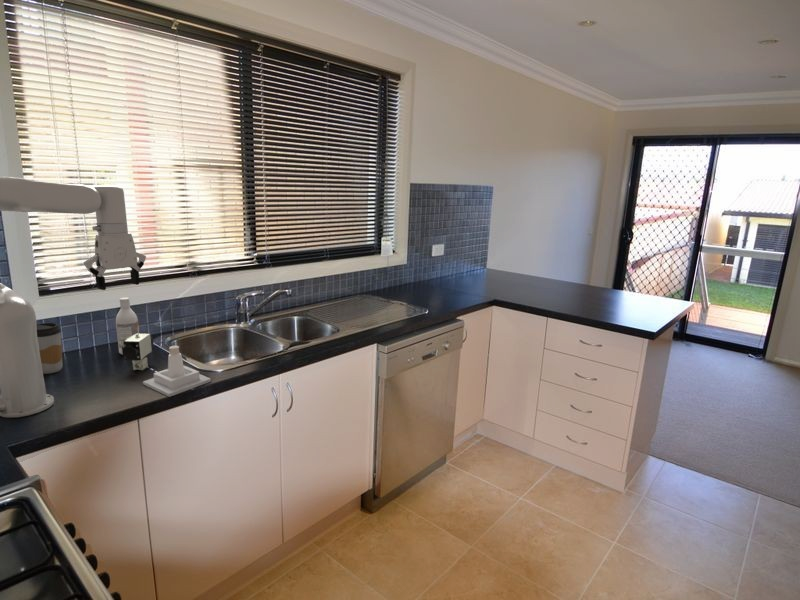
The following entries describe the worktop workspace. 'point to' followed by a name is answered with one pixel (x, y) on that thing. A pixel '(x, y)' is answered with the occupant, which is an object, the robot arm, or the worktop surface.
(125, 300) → the bath foam
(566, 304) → the worktop surface
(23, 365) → the robot arm
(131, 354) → the pneumatic valve
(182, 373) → the salt shaker
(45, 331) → the coffee cup
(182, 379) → the flange
